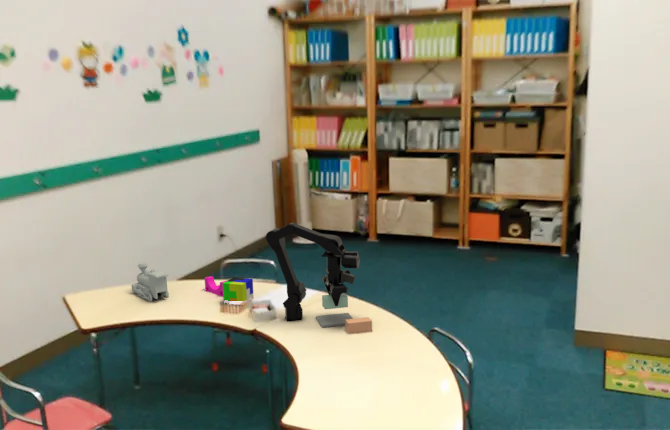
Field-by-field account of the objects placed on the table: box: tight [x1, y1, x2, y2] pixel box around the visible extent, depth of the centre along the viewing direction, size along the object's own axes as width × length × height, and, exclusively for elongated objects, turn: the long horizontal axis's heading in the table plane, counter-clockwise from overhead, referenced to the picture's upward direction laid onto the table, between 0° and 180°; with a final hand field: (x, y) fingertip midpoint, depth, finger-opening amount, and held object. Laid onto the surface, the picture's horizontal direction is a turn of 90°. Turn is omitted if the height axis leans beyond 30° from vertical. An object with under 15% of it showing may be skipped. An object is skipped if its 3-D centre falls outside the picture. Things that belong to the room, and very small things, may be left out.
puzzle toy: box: [223, 276, 255, 301], centre depth 286 cm, size 10×10×10 cm
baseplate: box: [315, 312, 354, 329], centre depth 258 cm, size 14×12×1 cm
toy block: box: [204, 276, 228, 297], centre depth 300 cm, size 15×6×8 cm, turn 47°
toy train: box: [130, 262, 170, 303], centre depth 298 cm, size 11×28×15 cm, turn 41°
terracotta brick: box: [344, 316, 373, 335], centre depth 247 cm, size 10×5×4 cm, turn 104°
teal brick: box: [321, 293, 349, 310], centre depth 257 cm, size 10×5×4 cm, turn 104°
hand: (334, 304), depth 257 cm, fingers closed on teal brick, 5 cm apart
